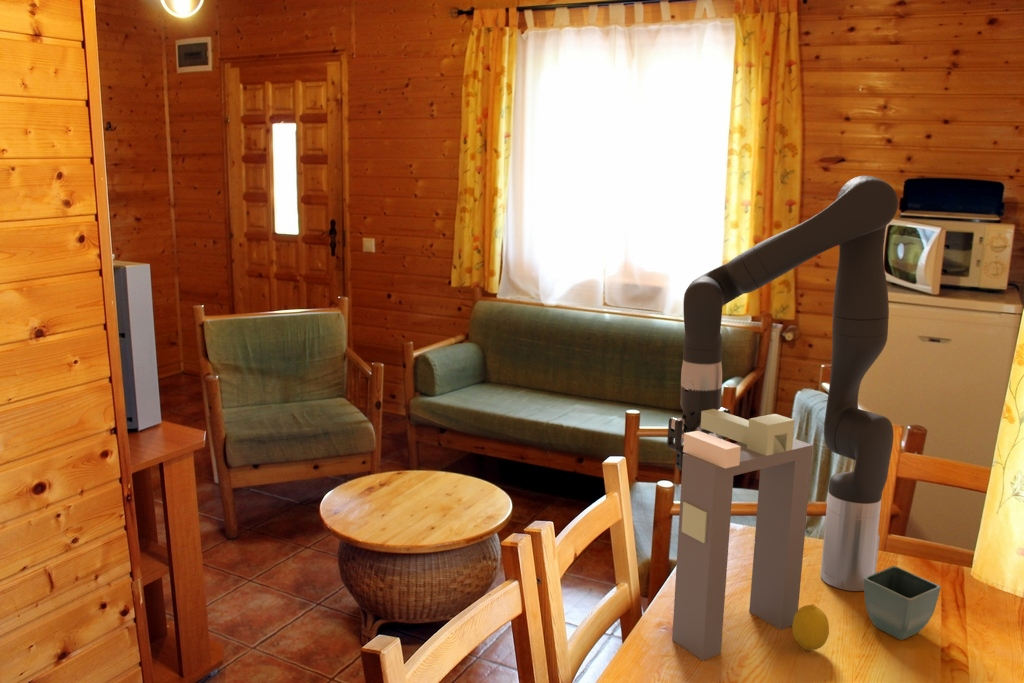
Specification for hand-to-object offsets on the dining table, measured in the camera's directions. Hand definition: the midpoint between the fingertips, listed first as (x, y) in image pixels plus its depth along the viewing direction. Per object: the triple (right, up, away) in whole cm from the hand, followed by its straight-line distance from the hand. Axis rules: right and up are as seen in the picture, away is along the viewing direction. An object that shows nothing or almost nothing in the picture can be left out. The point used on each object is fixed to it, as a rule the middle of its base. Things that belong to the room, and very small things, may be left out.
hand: (698, 465), depth 161 cm
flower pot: (+29, -25, -19) cm, 43 cm away
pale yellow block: (+2, +8, -21) cm, 23 cm away
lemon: (+12, -26, -25) cm, 39 cm away
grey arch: (+2, -25, -20) cm, 32 cm away
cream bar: (-5, +6, -31) cm, 32 cm away
